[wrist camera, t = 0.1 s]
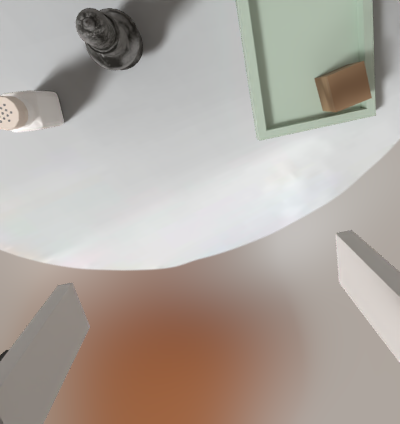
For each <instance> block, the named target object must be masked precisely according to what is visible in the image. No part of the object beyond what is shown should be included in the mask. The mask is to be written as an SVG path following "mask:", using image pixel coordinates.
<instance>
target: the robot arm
mask: <svg viewBox="0 0 400 424" xmlns="http://www.w3.org/2000/svg"><path fill="white" fill-rule="evenodd" d="M336 249H337V262H338V274H339V275H338V276H339V283H340V285H341V286H342V287H343V288H344V290H345V291H346V292H347V294H348V295H349V296H350V298H351V299H352V300H353V301H354V303H355V304H356V306H357V307H358V308H359V310H360V311H361V312H362V314H363V315H364V316H365V318H366V319H367V320H368V322H369V323H370V324H371V325H372V326H373V328H374V329H375V331H376V332H377V333H378V335H379V336H380V337H381V339H382V340H383V341H384V343H385V344H386V345H387V347H388V348H389V349H390V350H391V352H392V353H393V354H394V356H395V357H396V359H397V360H398V361H399V363H400V272H399V271H398V270H397V269H396V268H395V267H394V266H392V265H391V264H390V263H389V262H388V261H387V260H385V259H384V258H383V257H382V256H381V255H380V254H379V253H377V252H376V251H375V250H374V249H373V248H371V246H369V245H368V244H367V243H366V242H365V241H363V240H362V239H361V238H360V237H359V236H358V235H357V234H356V233H354V232H353V231H352V230H351V231H345V232H340V233H336ZM89 328H90V326H89V323H88V321H87V318H86V315H85V313H84V310H83V308H82V306H81V303H80V301H79V298H78V296H77V293H76V290H75V288H74V286H73V283H68V284H63V285H58V286H57V288H56V289H55V290H54V291H53V293H52V294H51V295H50V297H49V298H48V300H47V301H46V302H45V303H44V305H43V306H42V307H41V308H40V310H39V311H38V312H37V314H36V315H35V317H34V318H33V319H32V320H31V322H30V323H29V325H28V326H27V327H26V328H25V330H24V331H23V332H22V334H21V335H20V336H19V338H18V339H17V340H16V342H15V343H14V344H13V345H12V347H11V348H10V349H9V350H6V351H5V352H3V353H2V354H1V355H0V424H43V423H44V421H45V419H46V417H47V415H48V413H49V411H50V409H51V407H52V405H53V403H54V400H55V398H56V396H57V394H58V392H59V390H60V388H61V386H62V384H63V382H64V380H65V378H66V375H67V373H68V371H69V369H70V367H71V365H72V363H73V361H74V359H75V357H76V354H77V352H78V351H79V348H80V346H81V344H82V342H83V340H84V338H85V336H86V334H87V332H88V330H89Z"/></svg>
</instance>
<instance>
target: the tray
mask: <svg viewBox="0 0 400 424" xmlns="http://www.w3.org/2000/svg"><path fill="white" fill-rule="evenodd" d="M236 6H237V13H238V19H239V26H240V33H241V39H242V46H243V52H244V59H245V65H246V72H247V78H248V85H249V91H250V98H251V104H252V111H253V117H254V124H255V131H256V137H257V139H258V140H259V141H261V140H265V139H270V138H274V137H279V136H284V135H288V134H293V133H297V132H302V131H307V130H311V129H316V128H320V127H325V126H330V125H334V124H339V123H343V122H348V121H353V120H357V119H362V118H367V117H371V116H376V108H375V73H374V38H373V3H372V0H236ZM360 61H364V63H365V68H366V73H367V77H368V82H369V87H370V92H371V96H372V98H370V99H368V100H366V101H363V102H361V103H358V104H356V105H353V106H351V107H348V108H346V109H343V110H341V111H338V112H327V111H323V109H322V106H321V102H320V98H319V94H318V91H317V87H316V83H315V79H314V78H317V77H319V76H321V75H324V74H326V73H328V72H331V71H333V70H336V69H338V68H340V67H343V66H345V65H347V64H352V63H356V62H360Z"/></svg>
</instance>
